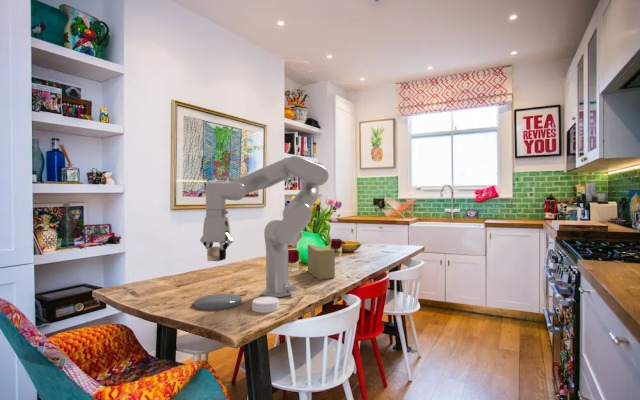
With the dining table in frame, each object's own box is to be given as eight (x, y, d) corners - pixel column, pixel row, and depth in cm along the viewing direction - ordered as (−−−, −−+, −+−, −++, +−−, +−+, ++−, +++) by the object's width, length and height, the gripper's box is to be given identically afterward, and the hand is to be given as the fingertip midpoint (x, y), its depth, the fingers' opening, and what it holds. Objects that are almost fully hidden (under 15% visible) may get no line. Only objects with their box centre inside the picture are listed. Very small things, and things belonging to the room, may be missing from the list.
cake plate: (249, 298, 149) (249, 295, 149) (225, 312, 131) (225, 309, 131) (211, 295, 154) (211, 292, 154) (184, 308, 137) (183, 305, 137)
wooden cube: (225, 259, 146) (225, 246, 146) (218, 261, 141) (217, 248, 141) (215, 258, 147) (214, 246, 147) (207, 260, 143) (207, 248, 143)
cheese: (300, 271, 199) (300, 244, 199) (316, 270, 204) (316, 243, 204) (318, 280, 180) (318, 250, 179) (335, 278, 184) (335, 248, 184)
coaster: (280, 304, 141) (279, 295, 141) (277, 313, 131) (277, 303, 131) (254, 305, 140) (254, 296, 140) (250, 313, 130) (249, 304, 130)
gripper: (239, 213, 145) (240, 258, 145) (203, 212, 150) (204, 256, 151) (228, 214, 138) (229, 261, 138) (191, 213, 143) (192, 259, 143)
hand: (216, 258), depth 144 cm, fingers closed on wooden cube, 4 cm apart
